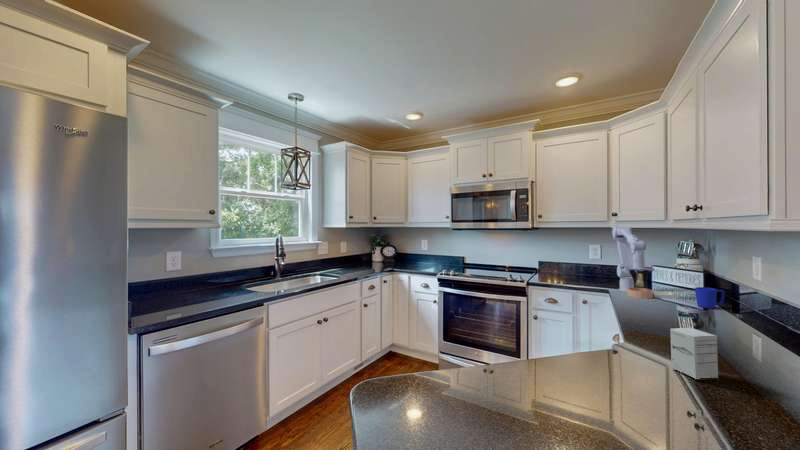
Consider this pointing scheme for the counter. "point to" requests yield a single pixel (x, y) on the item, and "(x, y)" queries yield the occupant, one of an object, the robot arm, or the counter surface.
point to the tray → (665, 294)
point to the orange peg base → (640, 292)
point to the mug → (707, 297)
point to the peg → (639, 280)
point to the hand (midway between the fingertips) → (639, 282)
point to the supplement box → (694, 352)
